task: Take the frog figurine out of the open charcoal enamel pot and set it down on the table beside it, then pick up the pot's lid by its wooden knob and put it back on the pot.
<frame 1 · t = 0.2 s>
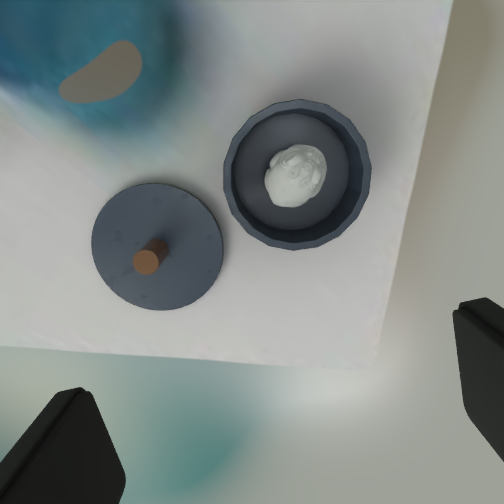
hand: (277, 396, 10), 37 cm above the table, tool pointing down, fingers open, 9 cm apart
lid: (158, 248, 46), point 1 cm above the table
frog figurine: (291, 174, 44), resting in pot
pot: (291, 174, 44), on the table
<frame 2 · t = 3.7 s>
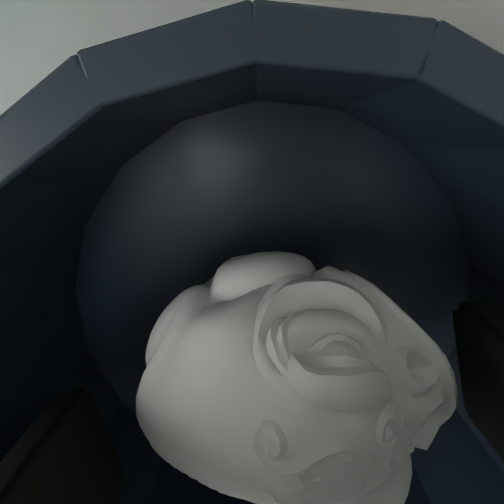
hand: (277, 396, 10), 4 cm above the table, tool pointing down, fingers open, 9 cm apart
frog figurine: (271, 307, 13), resting in pot
pot: (271, 305, 13), on the table
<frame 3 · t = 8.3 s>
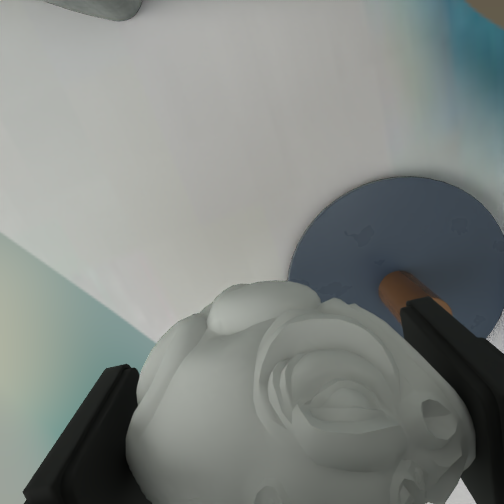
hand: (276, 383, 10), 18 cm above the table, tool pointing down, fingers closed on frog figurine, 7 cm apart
lid: (395, 286, 28), point 1 cm above the table
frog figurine: (271, 331, 13), point 15 cm above the table, touching gripper
when the fingers open (2 cm above the table, at t = 12.7 s): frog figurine stays where it is, on the table.
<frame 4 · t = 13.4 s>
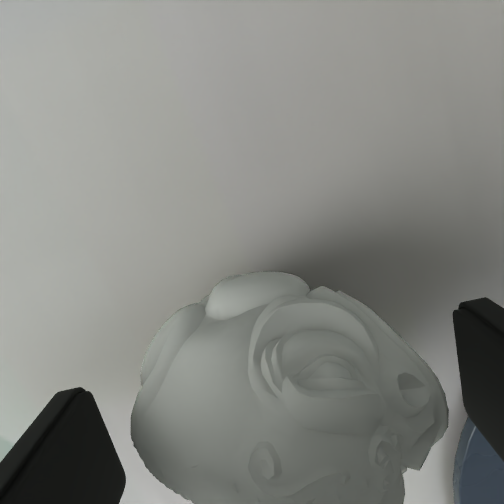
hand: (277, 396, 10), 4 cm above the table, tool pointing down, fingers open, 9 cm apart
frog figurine: (265, 323, 13), on the table
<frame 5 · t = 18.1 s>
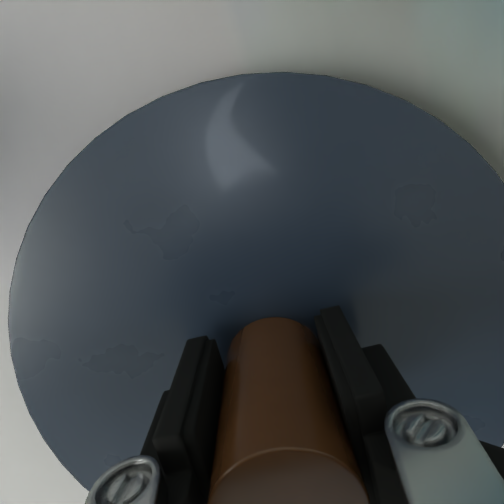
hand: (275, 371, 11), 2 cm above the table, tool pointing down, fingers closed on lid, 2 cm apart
lid: (273, 351, 12), point 1 cm above the table, touching gripper
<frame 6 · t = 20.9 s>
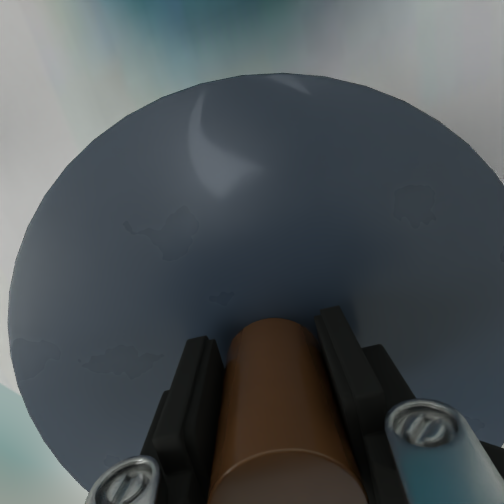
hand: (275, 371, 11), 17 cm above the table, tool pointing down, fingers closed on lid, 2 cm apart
lid: (273, 352, 12), point 16 cm above the table, touching gripper
when the fingers open (7 cm above the table, at t = 24.0 s): lid stays where it is, resting on pot.
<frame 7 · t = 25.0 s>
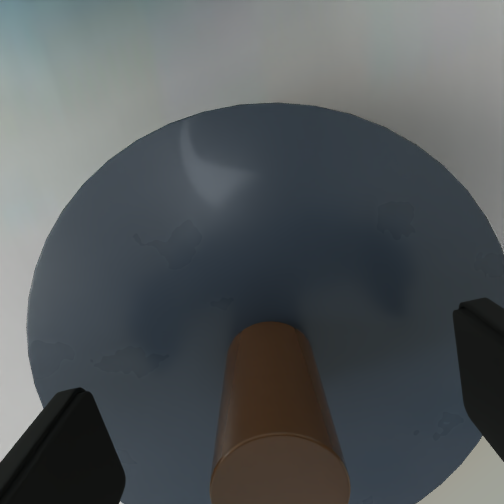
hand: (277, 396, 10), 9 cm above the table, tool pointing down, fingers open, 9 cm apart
lid: (269, 352, 13), point 6 cm above the table, touching pot
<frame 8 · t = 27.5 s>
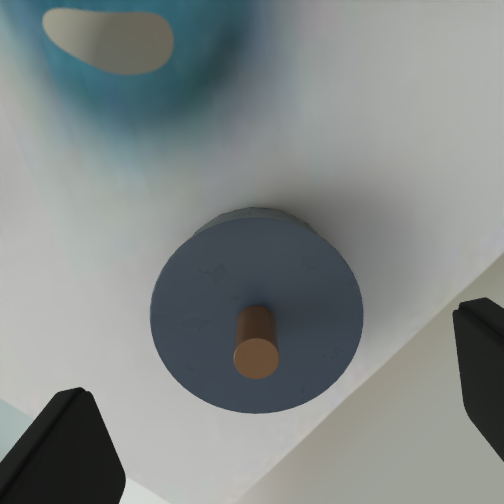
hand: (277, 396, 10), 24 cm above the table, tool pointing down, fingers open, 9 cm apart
lid: (256, 319, 29), point 6 cm above the table, touching pot
pot: (256, 288, 35), on the table
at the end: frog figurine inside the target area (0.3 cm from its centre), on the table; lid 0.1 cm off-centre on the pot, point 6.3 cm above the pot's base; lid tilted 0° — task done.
